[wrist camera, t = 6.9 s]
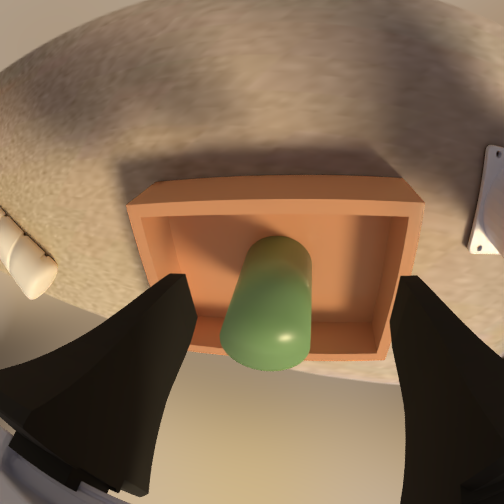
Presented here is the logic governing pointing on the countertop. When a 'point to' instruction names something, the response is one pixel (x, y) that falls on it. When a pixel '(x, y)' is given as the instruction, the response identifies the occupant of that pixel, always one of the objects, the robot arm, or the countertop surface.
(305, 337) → the cucumber piece
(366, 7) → the countertop surface
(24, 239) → the unicorn horn
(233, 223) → the terracotta bin
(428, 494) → the robot arm
